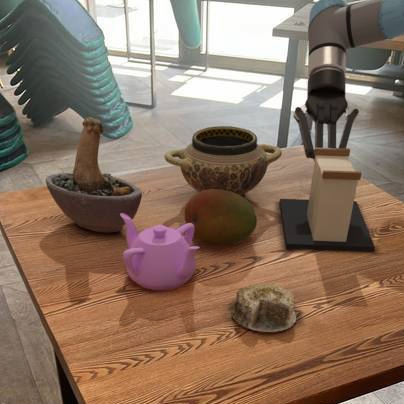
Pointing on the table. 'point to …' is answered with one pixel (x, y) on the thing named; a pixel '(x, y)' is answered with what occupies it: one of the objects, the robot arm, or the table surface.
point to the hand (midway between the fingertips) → (324, 190)
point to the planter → (93, 188)
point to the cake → (264, 308)
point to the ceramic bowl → (224, 159)
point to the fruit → (220, 217)
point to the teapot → (159, 255)
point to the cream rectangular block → (326, 159)
